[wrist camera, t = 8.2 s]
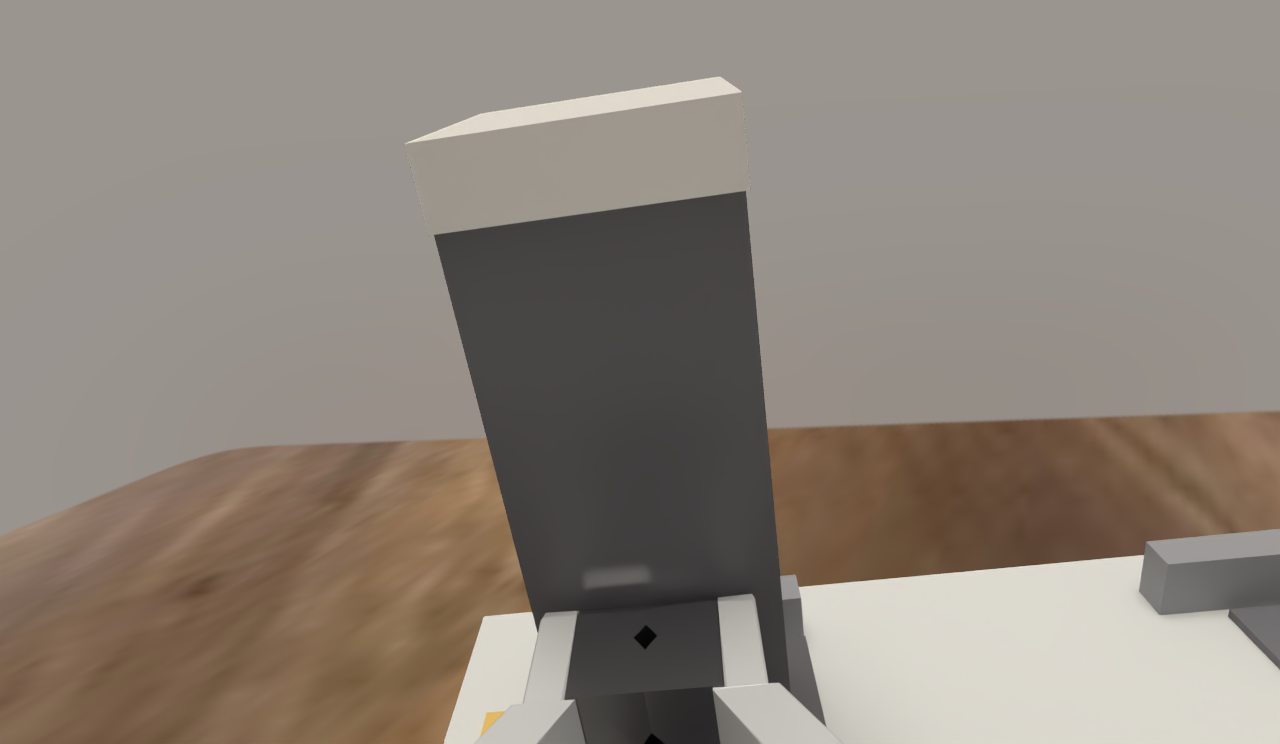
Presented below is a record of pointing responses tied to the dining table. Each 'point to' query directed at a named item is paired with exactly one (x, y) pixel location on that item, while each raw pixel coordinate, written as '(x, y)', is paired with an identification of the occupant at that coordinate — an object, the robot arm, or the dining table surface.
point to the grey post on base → (617, 347)
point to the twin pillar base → (1013, 651)
